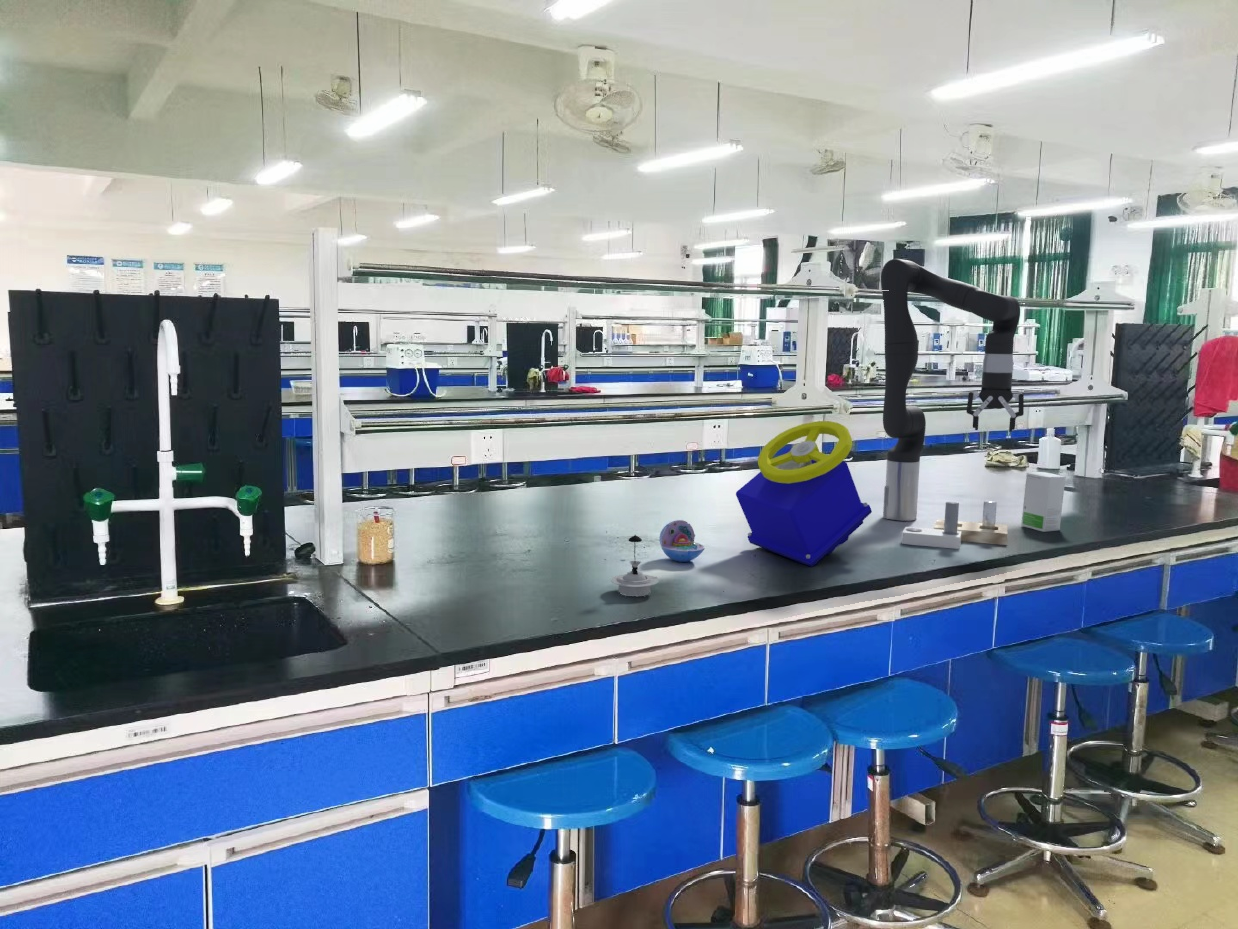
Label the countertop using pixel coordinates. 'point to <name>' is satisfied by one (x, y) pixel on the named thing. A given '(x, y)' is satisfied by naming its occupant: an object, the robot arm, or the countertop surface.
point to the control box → (803, 495)
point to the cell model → (679, 541)
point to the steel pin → (989, 515)
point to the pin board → (978, 532)
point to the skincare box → (1043, 501)
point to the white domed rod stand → (634, 578)
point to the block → (937, 531)
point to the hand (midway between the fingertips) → (993, 430)
